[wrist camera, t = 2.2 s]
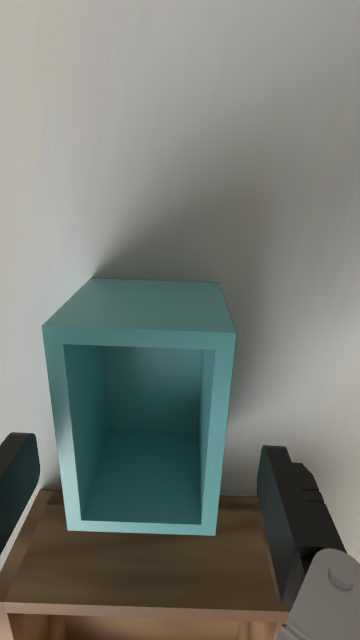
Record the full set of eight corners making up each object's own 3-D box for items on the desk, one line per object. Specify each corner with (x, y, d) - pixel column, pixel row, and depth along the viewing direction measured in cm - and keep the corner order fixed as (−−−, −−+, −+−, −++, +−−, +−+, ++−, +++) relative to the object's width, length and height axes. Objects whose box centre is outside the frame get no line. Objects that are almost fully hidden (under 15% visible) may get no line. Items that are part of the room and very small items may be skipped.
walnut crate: (39, 490, 21) (-14, 601, 15) (266, 497, 21) (297, 612, 15) (63, 641, 27) (31, 761, 21) (241, 647, 27) (256, 769, 21)
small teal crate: (91, 277, 16) (41, 325, 10) (218, 282, 16) (236, 333, 10) (101, 431, 19) (67, 530, 14) (206, 434, 19) (215, 535, 14)
